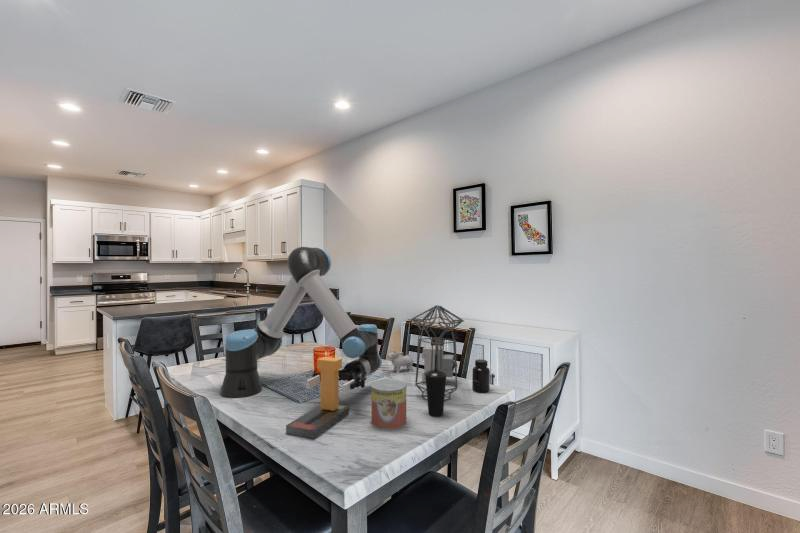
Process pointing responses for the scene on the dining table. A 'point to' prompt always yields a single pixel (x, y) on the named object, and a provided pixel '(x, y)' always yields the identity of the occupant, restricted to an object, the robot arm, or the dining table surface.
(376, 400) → the canned food
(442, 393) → the drinking cup
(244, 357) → the robot arm
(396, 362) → the dog figurine
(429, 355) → the circuit breaker
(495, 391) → the dining table surface
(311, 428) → the switch plate
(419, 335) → the geometric lantern
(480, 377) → the supplement bottle
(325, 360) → the handle
